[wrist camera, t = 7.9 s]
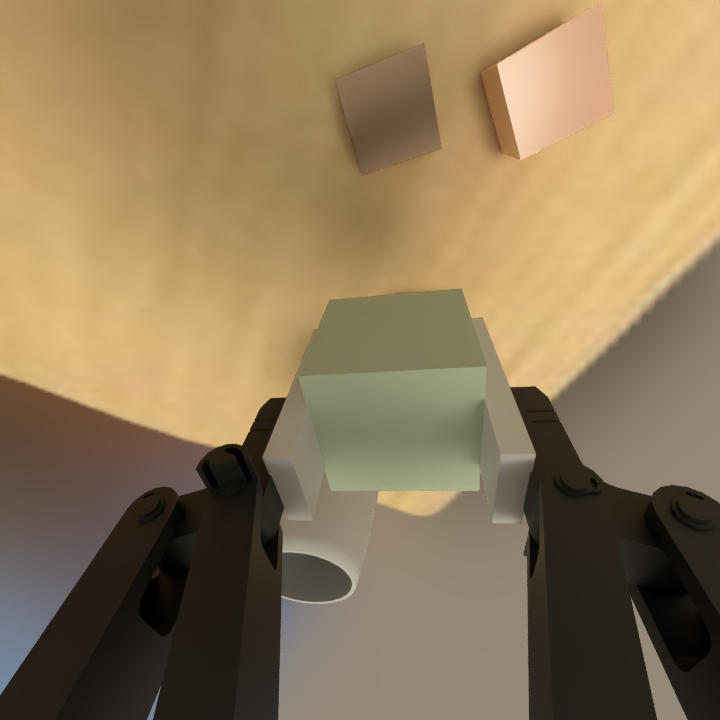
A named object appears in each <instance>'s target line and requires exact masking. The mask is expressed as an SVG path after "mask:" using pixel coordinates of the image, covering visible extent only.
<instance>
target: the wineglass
mask: <svg viewBox="0 0 720 720" xmlns="http://www.w3.org/2000/svg"><path fill="white" fill-rule="evenodd" d="M377 497H378V491H331V489H330V486H329V482H328V479H327V475H326V472H325V469H324V473H323V478H322V482H321V487H320V492H319V496H318V501H317V505H316V510H315V515H314V519H313V520H288V518H287V516H286V513H285V511H284V510H283V514H282V517H281V520H280V525H281V527H282V532H283V552H282V591H281V597H282V598H285V599H288V600H293V601H297V602H304V603H313V604H316V603H317V604H324V603H332V602H337V601H340V600H344V599H345V598H347V597H349V596H350V595H351V594H352V593H353V592H354V591H355V588H356V585H357V582H358V579H359V576H360V572H361V568H362V565H363V561H364V557H365V553H366V550H367V546H368V542H369V538H370V533H371V528H372V524H373V518H374V514H375V508H376V503H377Z"/></svg>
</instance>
